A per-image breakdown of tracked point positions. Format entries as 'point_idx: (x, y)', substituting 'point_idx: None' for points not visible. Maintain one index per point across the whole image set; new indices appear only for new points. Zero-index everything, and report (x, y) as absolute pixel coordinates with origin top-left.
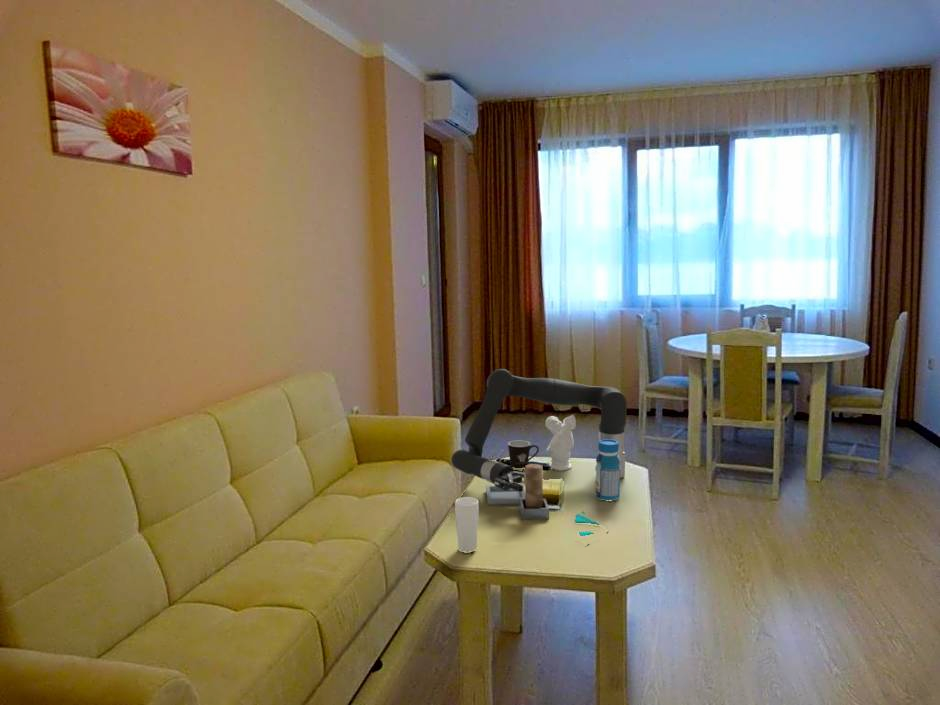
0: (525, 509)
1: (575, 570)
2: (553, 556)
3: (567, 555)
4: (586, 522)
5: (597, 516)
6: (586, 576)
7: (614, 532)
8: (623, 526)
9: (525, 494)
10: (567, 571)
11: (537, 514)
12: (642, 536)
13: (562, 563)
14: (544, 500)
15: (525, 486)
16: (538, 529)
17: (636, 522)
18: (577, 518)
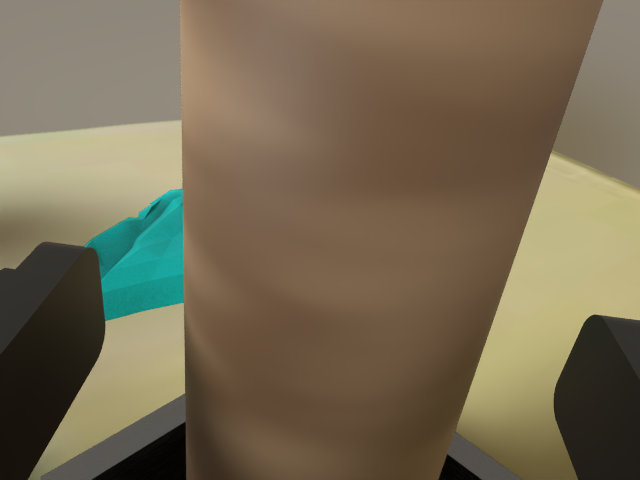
0: (509, 474)
1: (573, 174)
2: (594, 232)
3: (532, 209)
4: None
5: (29, 245)
6: (562, 155)
7: None
8: (114, 163)
9: (433, 474)
10: (604, 184)
11: None
12: (177, 125)
13: (590, 203)
14: (118, 452)
15: (468, 366)
16: (478, 390)
17: (38, 147)
18: (181, 264)
